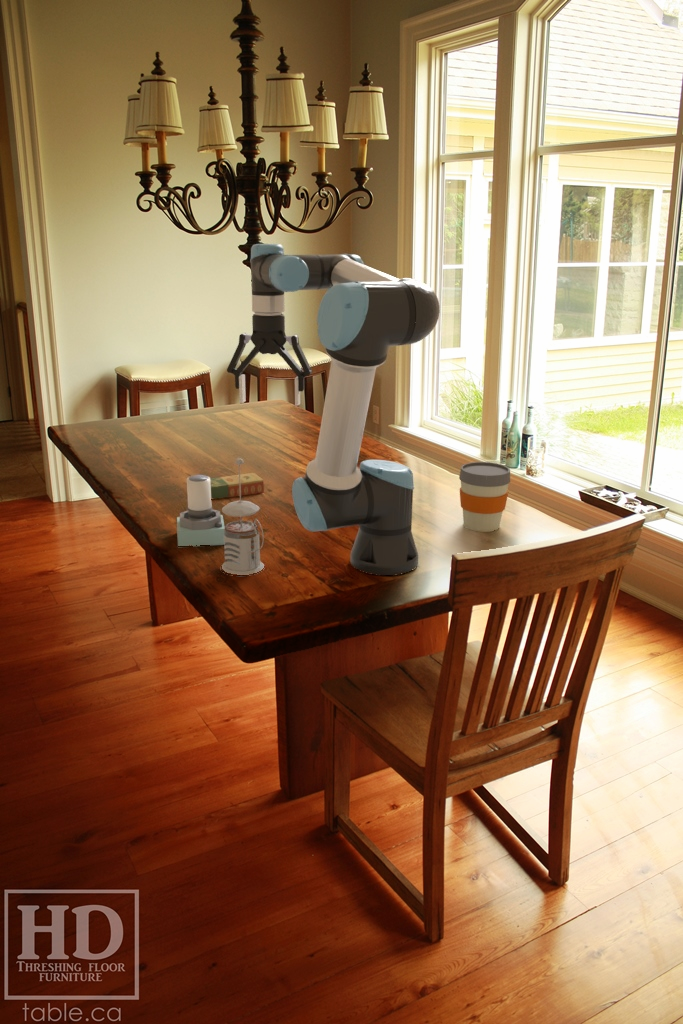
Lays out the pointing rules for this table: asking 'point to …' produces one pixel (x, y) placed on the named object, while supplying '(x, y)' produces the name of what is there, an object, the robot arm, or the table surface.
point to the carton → (236, 485)
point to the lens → (199, 497)
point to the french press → (239, 548)
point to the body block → (200, 530)
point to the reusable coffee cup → (483, 494)
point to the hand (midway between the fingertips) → (270, 403)
